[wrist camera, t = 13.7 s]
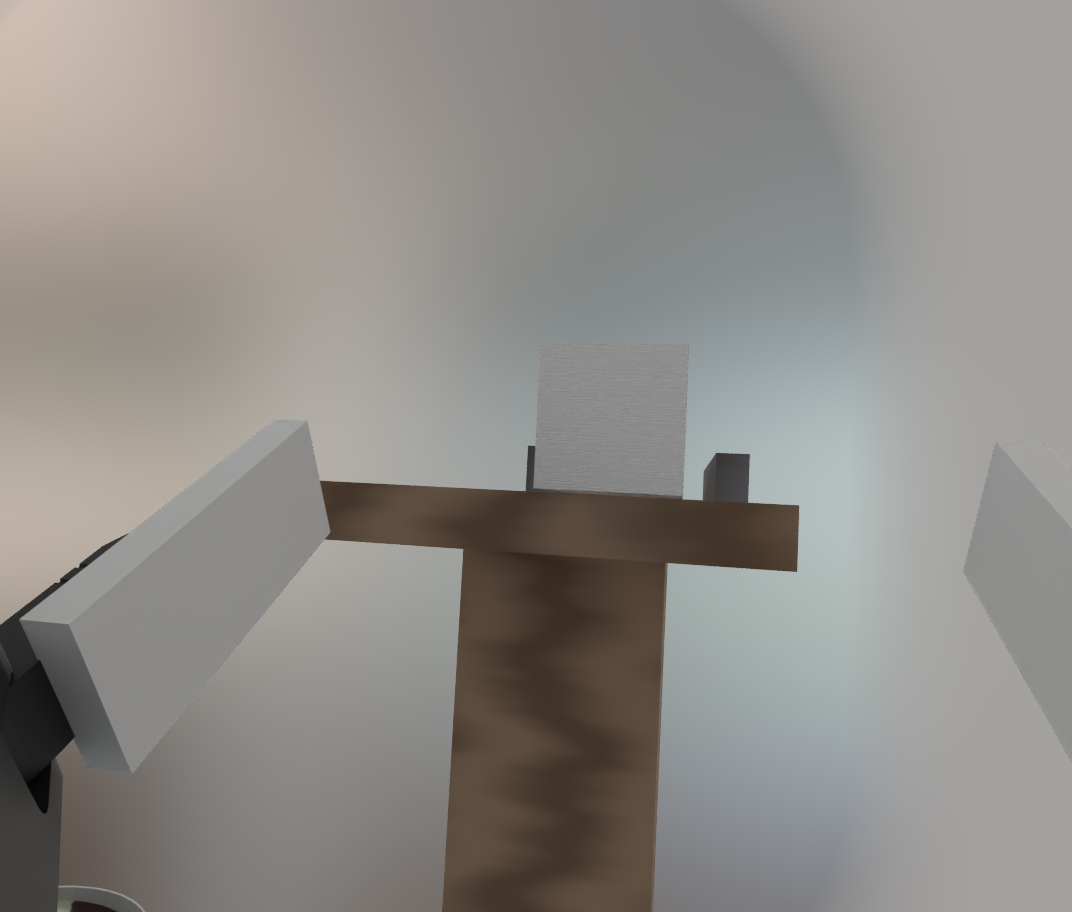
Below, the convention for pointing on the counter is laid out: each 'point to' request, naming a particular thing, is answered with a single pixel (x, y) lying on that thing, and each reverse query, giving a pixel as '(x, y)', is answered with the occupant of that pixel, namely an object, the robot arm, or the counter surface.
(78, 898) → the food container
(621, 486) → the steel bar
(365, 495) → the walnut shelf
